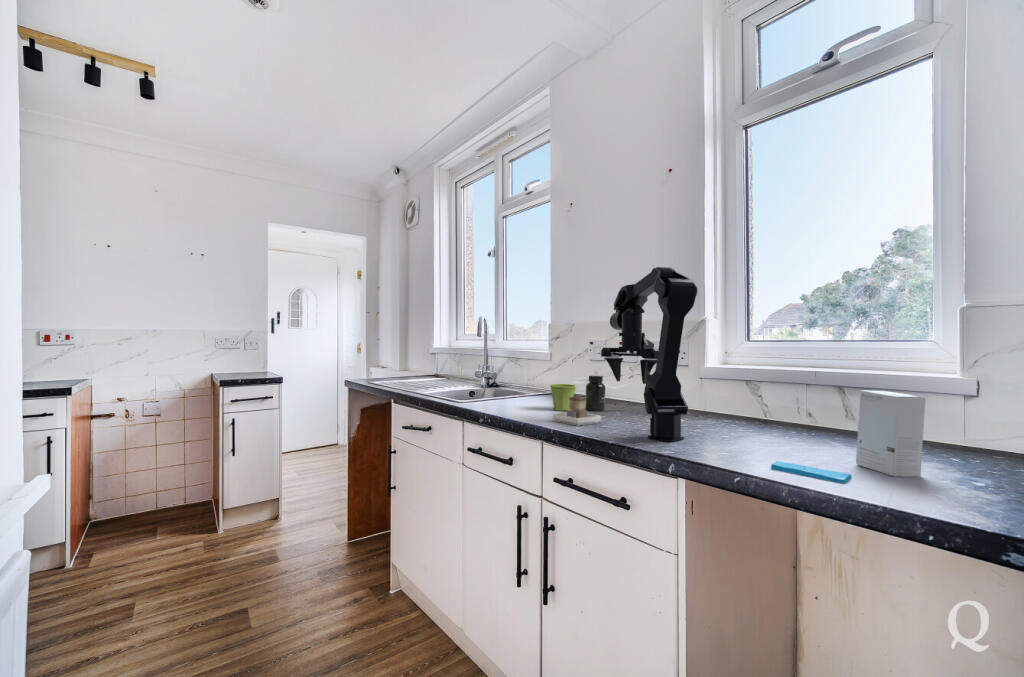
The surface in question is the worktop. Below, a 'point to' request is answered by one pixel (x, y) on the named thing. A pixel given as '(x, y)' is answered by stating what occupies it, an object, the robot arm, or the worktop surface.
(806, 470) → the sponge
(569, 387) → the plant pot
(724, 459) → the worktop surface
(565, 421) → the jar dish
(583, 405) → the wooden block
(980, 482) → the worktop surface
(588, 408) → the supplement bottle
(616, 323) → the robot arm
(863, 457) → the skincare box
